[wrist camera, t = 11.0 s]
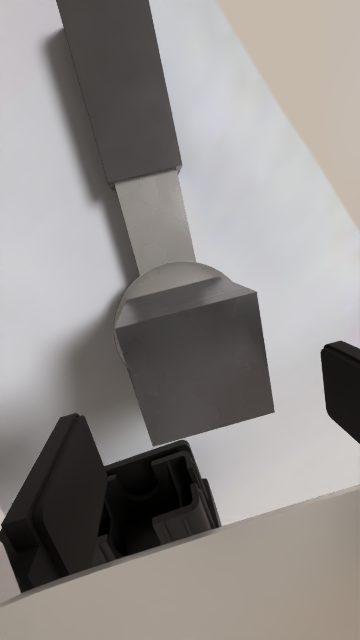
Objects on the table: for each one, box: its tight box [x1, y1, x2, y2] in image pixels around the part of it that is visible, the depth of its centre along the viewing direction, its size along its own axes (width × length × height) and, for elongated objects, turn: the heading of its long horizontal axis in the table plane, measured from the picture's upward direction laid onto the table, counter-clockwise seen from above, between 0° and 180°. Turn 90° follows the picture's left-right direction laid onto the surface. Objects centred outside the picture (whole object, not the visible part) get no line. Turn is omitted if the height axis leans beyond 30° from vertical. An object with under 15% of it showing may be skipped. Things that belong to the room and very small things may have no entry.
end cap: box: [91, 440, 222, 568], centre depth 19 cm, size 10×7×7 cm
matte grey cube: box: [114, 276, 275, 447], centre depth 14 cm, size 6×6×6 cm
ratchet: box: [56, 0, 231, 367], centre depth 14 cm, size 22×9×5 cm, turn 13°
